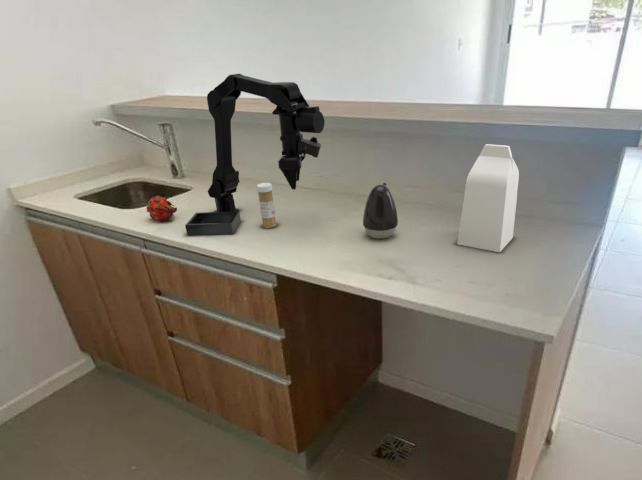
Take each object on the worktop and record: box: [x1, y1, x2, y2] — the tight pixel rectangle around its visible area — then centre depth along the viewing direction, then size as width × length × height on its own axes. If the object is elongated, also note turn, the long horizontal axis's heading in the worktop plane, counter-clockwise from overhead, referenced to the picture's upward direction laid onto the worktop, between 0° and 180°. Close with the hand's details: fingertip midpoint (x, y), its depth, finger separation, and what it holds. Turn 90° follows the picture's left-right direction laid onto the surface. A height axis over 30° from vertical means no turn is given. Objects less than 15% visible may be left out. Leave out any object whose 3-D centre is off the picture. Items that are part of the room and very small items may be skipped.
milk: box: [456, 143, 520, 253], centre depth 125 cm, size 12×12×26 cm
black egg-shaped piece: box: [362, 182, 399, 240], centre depth 135 cm, size 10×10×15 cm
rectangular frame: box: [184, 210, 242, 237], centre depth 150 cm, size 12×15×4 cm
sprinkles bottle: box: [256, 182, 278, 229], centre depth 147 cm, size 5×5×14 cm
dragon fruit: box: [146, 195, 178, 223], centre depth 159 cm, size 8×8×12 cm
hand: (295, 184), depth 143 cm, fingers open, 9 cm apart
